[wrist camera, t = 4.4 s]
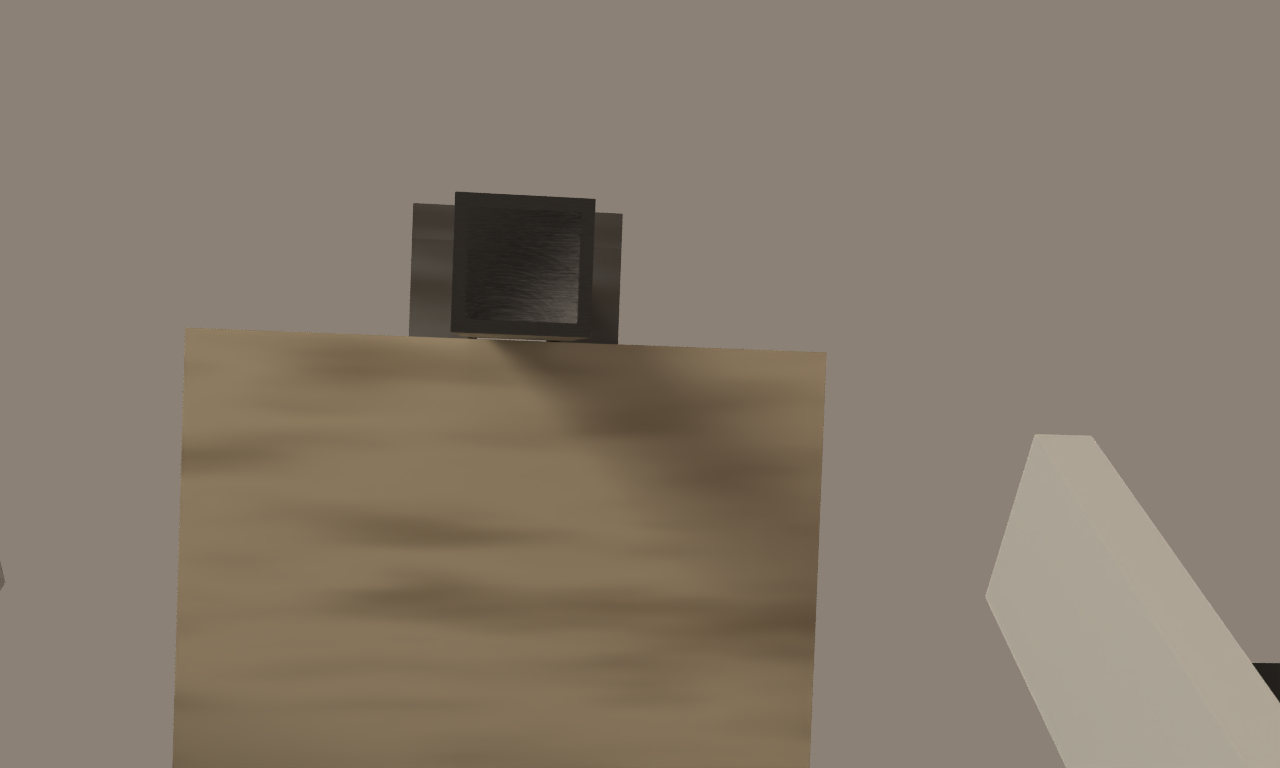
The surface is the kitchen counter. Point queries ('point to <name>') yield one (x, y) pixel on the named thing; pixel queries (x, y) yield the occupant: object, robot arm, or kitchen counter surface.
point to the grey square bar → (522, 267)
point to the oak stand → (495, 544)
